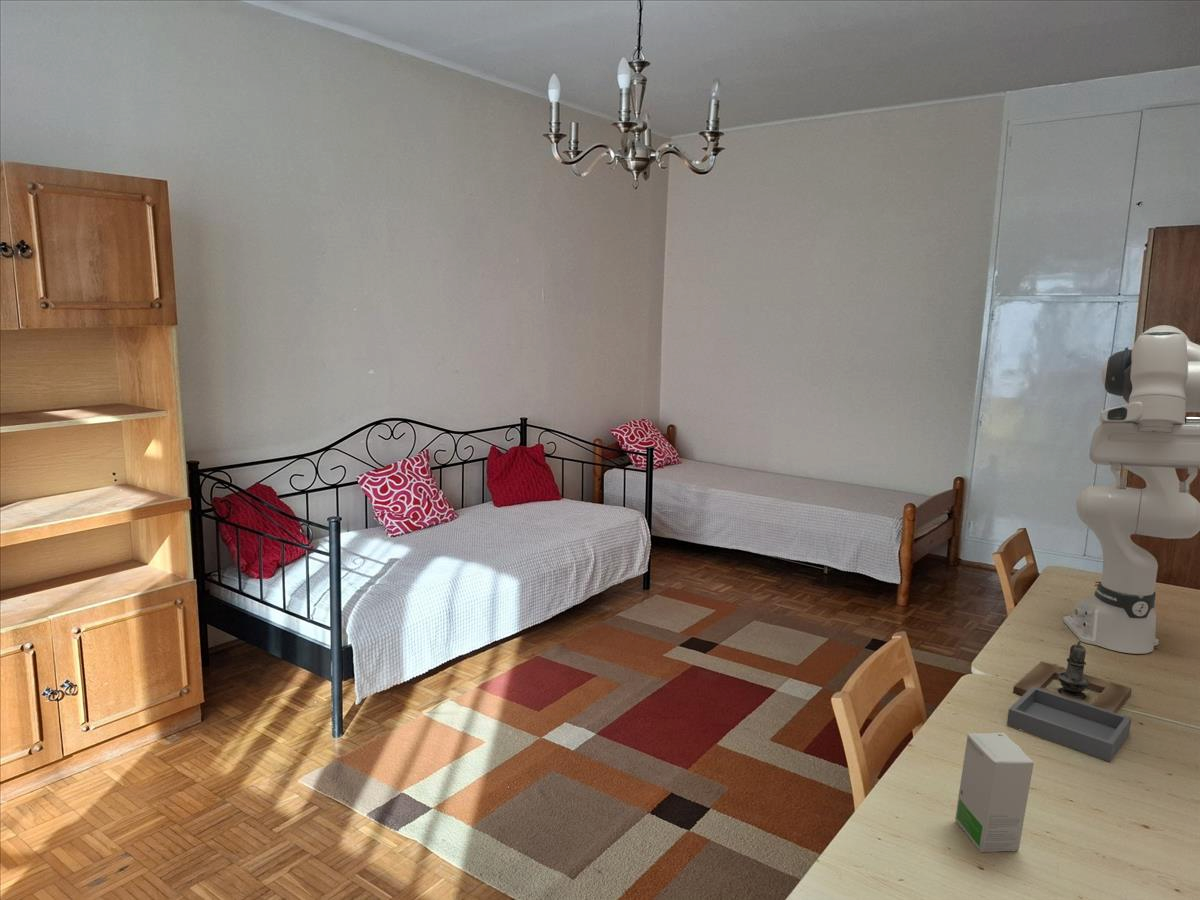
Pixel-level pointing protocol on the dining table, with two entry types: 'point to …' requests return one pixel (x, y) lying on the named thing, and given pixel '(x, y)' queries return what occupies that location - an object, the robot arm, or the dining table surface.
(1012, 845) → the skincare box
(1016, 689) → the socket block
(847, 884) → the dining table surface
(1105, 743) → the parts tray
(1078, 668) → the dark piece
